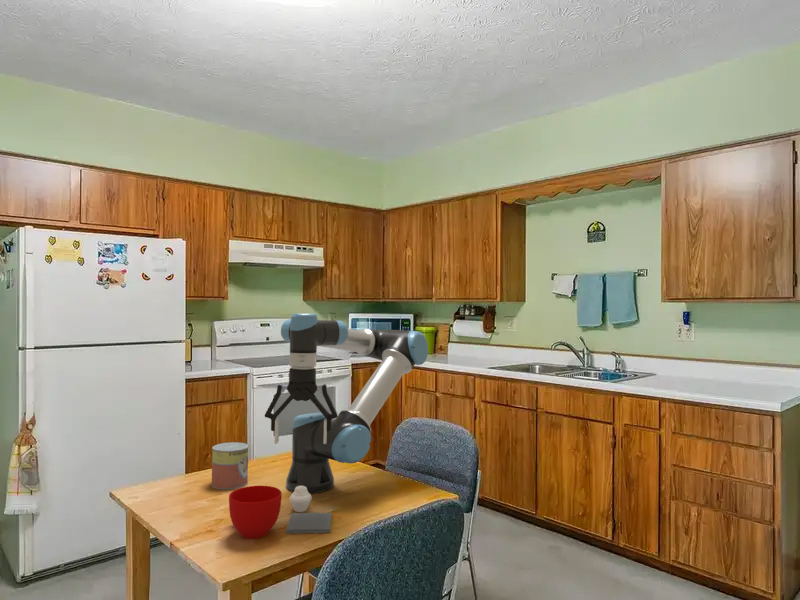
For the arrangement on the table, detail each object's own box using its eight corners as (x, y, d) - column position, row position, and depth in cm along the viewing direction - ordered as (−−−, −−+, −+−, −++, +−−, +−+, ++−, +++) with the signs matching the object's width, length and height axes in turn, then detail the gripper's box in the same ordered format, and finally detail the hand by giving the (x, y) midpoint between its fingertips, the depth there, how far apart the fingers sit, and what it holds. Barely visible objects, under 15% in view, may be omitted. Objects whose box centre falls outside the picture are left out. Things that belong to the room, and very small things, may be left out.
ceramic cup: (255, 515, 150) (256, 478, 150) (290, 533, 138) (291, 494, 139) (210, 528, 141) (211, 489, 141) (245, 549, 129) (246, 506, 129)
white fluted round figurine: (285, 509, 155) (285, 484, 155) (303, 504, 159) (303, 480, 159) (297, 516, 150) (297, 490, 150) (315, 510, 154) (316, 485, 154)
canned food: (237, 490, 170) (238, 452, 170) (204, 487, 172) (205, 449, 172) (253, 479, 181) (254, 443, 181) (222, 477, 183) (223, 441, 183)
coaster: (291, 516, 149) (291, 513, 149) (331, 516, 150) (331, 512, 150) (286, 533, 138) (286, 529, 138) (329, 532, 139) (329, 528, 139)
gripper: (255, 368, 150) (253, 445, 150) (346, 369, 152) (344, 445, 152) (260, 365, 158) (258, 439, 157) (347, 366, 160) (345, 439, 159)
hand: (300, 442), depth 154 cm, fingers open, 13 cm apart
